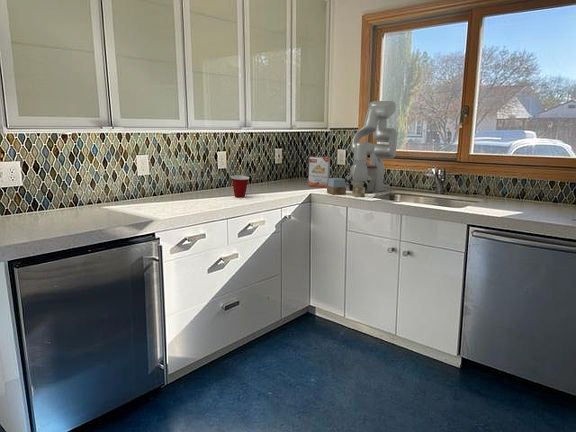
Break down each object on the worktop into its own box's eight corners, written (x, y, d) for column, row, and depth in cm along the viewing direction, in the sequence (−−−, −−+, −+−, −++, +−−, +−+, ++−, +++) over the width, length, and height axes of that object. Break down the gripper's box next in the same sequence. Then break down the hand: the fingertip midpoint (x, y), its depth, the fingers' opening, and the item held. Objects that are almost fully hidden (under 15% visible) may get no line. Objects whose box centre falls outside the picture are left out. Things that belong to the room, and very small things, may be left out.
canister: (369, 190, 304) (371, 159, 300) (381, 193, 287) (383, 161, 282) (344, 190, 299) (346, 159, 295) (355, 194, 282) (357, 161, 278)
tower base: (339, 193, 287) (339, 185, 286) (345, 195, 278) (346, 187, 277) (326, 193, 283) (327, 185, 282) (332, 195, 275) (333, 187, 274)
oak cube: (359, 195, 277) (360, 186, 275) (364, 197, 271) (365, 187, 270) (351, 195, 275) (351, 186, 273) (355, 197, 269) (356, 187, 268)
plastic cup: (235, 199, 249) (236, 177, 247) (227, 196, 258) (227, 175, 255) (252, 197, 255) (252, 177, 252) (243, 195, 264) (244, 175, 261)
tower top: (339, 185, 285) (340, 177, 284) (344, 187, 277) (345, 179, 276) (328, 185, 282) (328, 178, 281) (333, 187, 275) (333, 179, 274)
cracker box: (308, 186, 313) (309, 156, 309) (310, 185, 319) (311, 156, 315) (327, 187, 309) (328, 157, 305) (329, 186, 315) (330, 157, 311)
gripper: (369, 162, 275) (367, 189, 278) (344, 162, 269) (342, 189, 272) (375, 163, 268) (373, 191, 271) (350, 163, 262) (348, 191, 265)
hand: (357, 190), depth 272 cm, fingers open, 9 cm apart
